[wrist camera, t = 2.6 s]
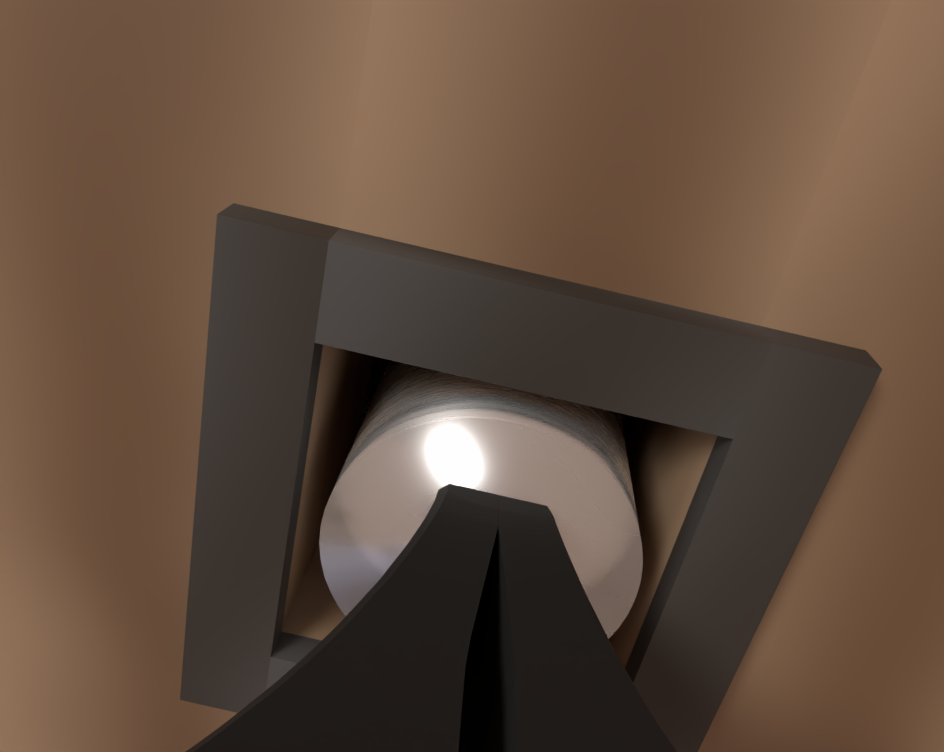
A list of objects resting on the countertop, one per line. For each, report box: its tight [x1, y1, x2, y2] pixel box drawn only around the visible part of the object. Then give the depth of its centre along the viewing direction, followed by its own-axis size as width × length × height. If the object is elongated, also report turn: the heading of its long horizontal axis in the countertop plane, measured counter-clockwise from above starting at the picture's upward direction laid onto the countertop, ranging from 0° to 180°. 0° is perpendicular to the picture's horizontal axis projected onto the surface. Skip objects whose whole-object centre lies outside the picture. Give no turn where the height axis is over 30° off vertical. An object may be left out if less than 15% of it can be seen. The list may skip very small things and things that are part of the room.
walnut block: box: [0, 0, 944, 752], centre depth 13 cm, size 16×16×6 cm
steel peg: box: [319, 360, 643, 639], centre depth 12 cm, size 4×4×5 cm
